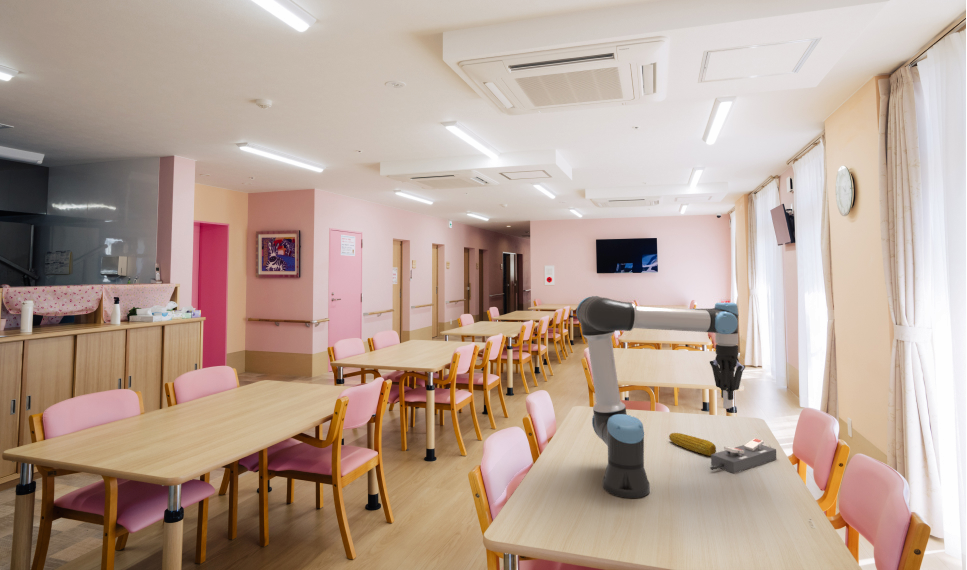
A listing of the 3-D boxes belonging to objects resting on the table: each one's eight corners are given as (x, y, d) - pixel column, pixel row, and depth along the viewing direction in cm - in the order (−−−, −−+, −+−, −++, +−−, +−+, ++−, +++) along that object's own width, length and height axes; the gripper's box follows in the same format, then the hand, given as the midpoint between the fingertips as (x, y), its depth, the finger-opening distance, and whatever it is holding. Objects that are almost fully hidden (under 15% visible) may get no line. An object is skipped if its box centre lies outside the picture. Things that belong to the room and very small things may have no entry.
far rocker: (753, 451, 179) (752, 448, 179) (743, 447, 183) (743, 445, 182) (764, 443, 182) (763, 440, 182) (754, 440, 186) (754, 437, 186)
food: (718, 456, 186) (718, 441, 186) (709, 459, 184) (709, 444, 183) (673, 440, 205) (673, 427, 204) (664, 443, 202) (664, 429, 202)
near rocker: (733, 452, 174) (733, 449, 174) (723, 449, 177) (723, 446, 177) (744, 453, 177) (744, 450, 177) (734, 450, 180) (735, 447, 180)
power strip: (723, 477, 167) (722, 463, 167) (700, 468, 175) (700, 454, 175) (776, 459, 182) (776, 446, 182) (753, 452, 190) (753, 439, 190)
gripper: (750, 345, 170) (750, 410, 171) (717, 341, 182) (717, 402, 182) (737, 347, 167) (737, 413, 167) (704, 343, 178) (705, 405, 179)
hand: (727, 407), depth 175 cm, fingers closed
